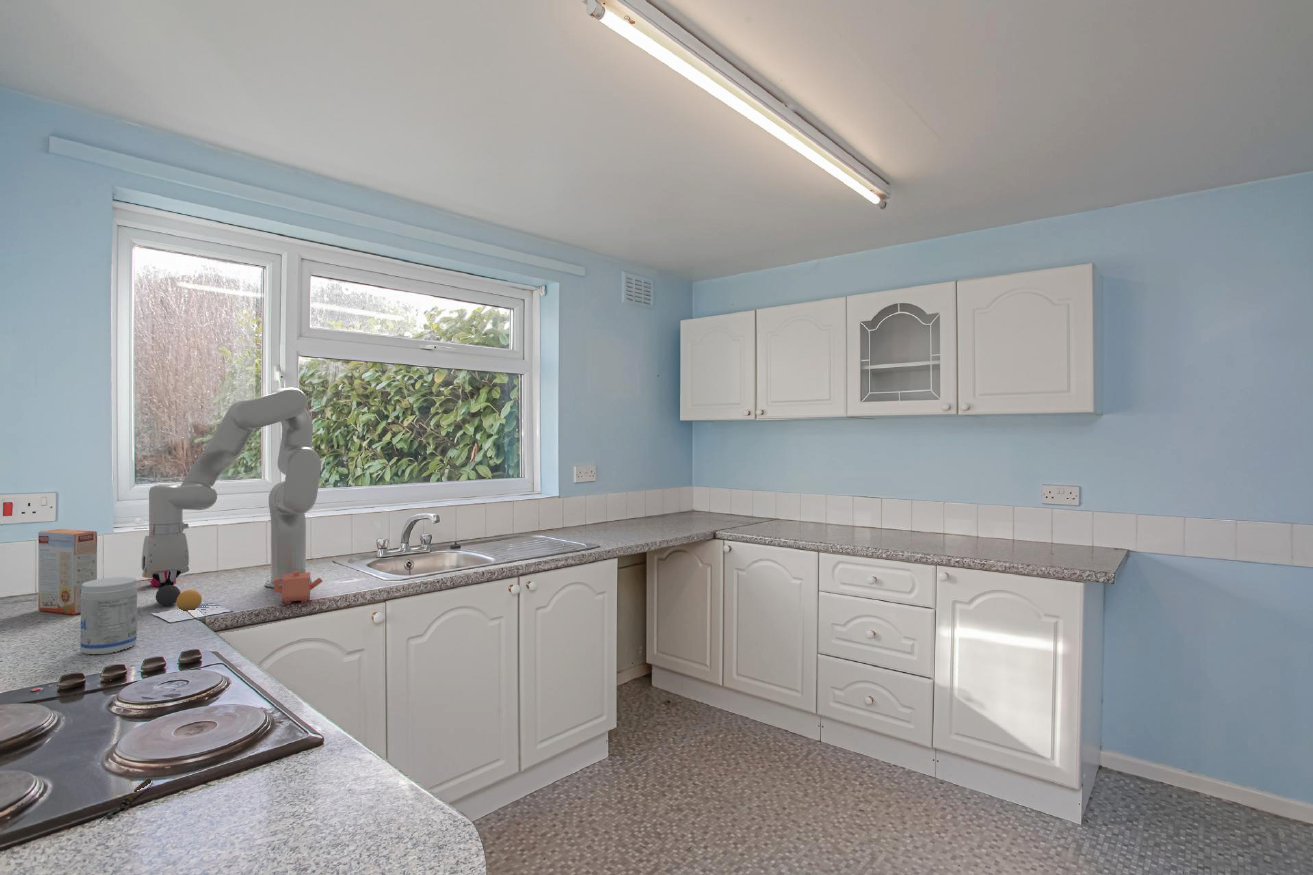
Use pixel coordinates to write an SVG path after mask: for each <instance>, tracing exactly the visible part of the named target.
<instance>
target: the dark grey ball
mask: <svg viewBox="0 0 1313 875" xmlns="http://www.w3.org/2000/svg"><path fill="white" fill-rule="evenodd" d="M181 593H182V592H181V590H180V588H179V587H178V586H176V585H175V584H173V585H166V586H163V587H161V588H160V589H159V588H158V589H157V591H156V593H155V600H156V602H157V603H158V605H161V606H164V607H165V606H166V607H169V606H168V605H170V606H172V604H173V605H175V604H176V600H177V597H178V596H179V595H180V594H181Z"/></svg>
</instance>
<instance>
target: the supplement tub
mask: <svg viewBox="0 0 1313 875" xmlns="http://www.w3.org/2000/svg"><path fill="white" fill-rule="evenodd" d="M137 586H138V585H137V579H136V578H135V577H130V576H128V577H127V576H116V577H115V576H114V577H103V578H97V580H92V581H88V582H85V583H83V584H82V590H81V613H80V651H81V653H83V654H84V655H89V654H93V655H92V656H95V655H94V654H101V655H108V654H113V652H115V653H119V652H121V651H120V650H123V649H126V650H128V649H127V648H129V647H131V648H133V647H134V646H135V645H136V643H137V640H138V639H137V638H138V637H137V632H138V587H137ZM133 645H134V646H133ZM132 646H133V647H132ZM129 649H130V648H129ZM118 651H119V652H118ZM123 651H124V650H123Z"/></svg>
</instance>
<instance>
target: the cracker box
mask: <svg viewBox="0 0 1313 875" xmlns="http://www.w3.org/2000/svg"><path fill="white" fill-rule="evenodd" d="M37 545H38V547H37V548H38V549H37V550H38V551H37V552H38V555H37V556H38V557H37V559H38V566H37V568H38V569H37V571H38V572H37V573H38V584H37V585H38V586H37V587H38V589H37V590H38V592H37V594H38V595H37V596H38V601H37V605H38V608H37V610H38V611H39V610H40V611H41V612H47V613H58V614H66V615H72V616H73V615H80V614H81V590H82V584H83V583H85V582H88V581H92V580H97V579H98V531H94V530H80V529H65V528H63V529H62V528H60V529H59V528H58V529H49V530H42V531H39V532H38V544H37Z"/></svg>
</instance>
